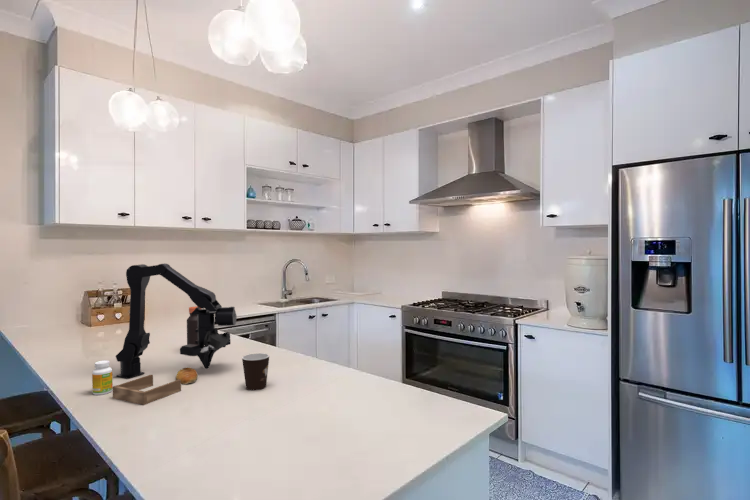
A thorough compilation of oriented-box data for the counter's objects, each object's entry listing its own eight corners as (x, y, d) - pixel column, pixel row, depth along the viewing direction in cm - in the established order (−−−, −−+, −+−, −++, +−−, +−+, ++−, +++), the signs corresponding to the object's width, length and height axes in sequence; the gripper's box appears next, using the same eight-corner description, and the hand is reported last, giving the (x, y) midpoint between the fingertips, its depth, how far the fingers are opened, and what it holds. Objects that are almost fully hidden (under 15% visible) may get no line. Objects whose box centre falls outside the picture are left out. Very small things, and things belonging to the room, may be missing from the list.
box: (112, 398, 129) (112, 386, 129) (151, 384, 141) (150, 374, 141) (143, 405, 123) (143, 393, 123) (181, 390, 135) (180, 379, 135)
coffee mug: (255, 393, 132) (254, 361, 132) (236, 388, 136) (236, 357, 136) (281, 382, 142) (281, 353, 142) (263, 378, 146) (263, 350, 146)
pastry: (200, 383, 143) (200, 372, 143) (179, 387, 139) (178, 375, 139) (195, 376, 151) (195, 365, 150) (174, 379, 147) (174, 368, 147)
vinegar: (198, 351, 185) (198, 305, 184) (207, 353, 181) (206, 306, 180) (183, 354, 179) (183, 307, 179) (192, 356, 175) (192, 309, 175)
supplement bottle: (102, 395, 131) (102, 364, 131) (88, 394, 132) (87, 364, 132) (116, 389, 136) (116, 360, 136) (102, 388, 137) (101, 359, 137)
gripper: (202, 333, 141) (202, 379, 142) (241, 323, 158) (241, 364, 158) (178, 330, 146) (179, 375, 146) (219, 321, 163) (219, 361, 163)
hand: (206, 368), depth 153 cm, fingers closed
